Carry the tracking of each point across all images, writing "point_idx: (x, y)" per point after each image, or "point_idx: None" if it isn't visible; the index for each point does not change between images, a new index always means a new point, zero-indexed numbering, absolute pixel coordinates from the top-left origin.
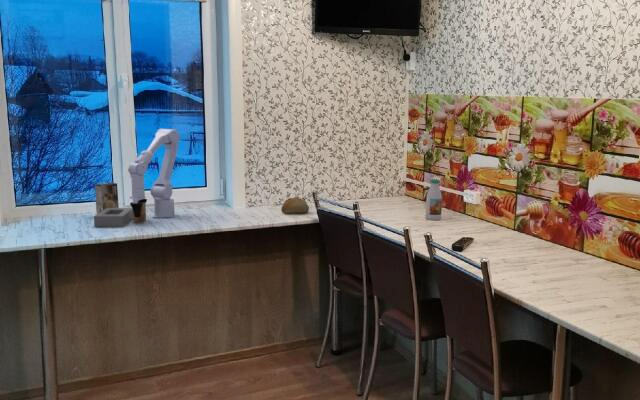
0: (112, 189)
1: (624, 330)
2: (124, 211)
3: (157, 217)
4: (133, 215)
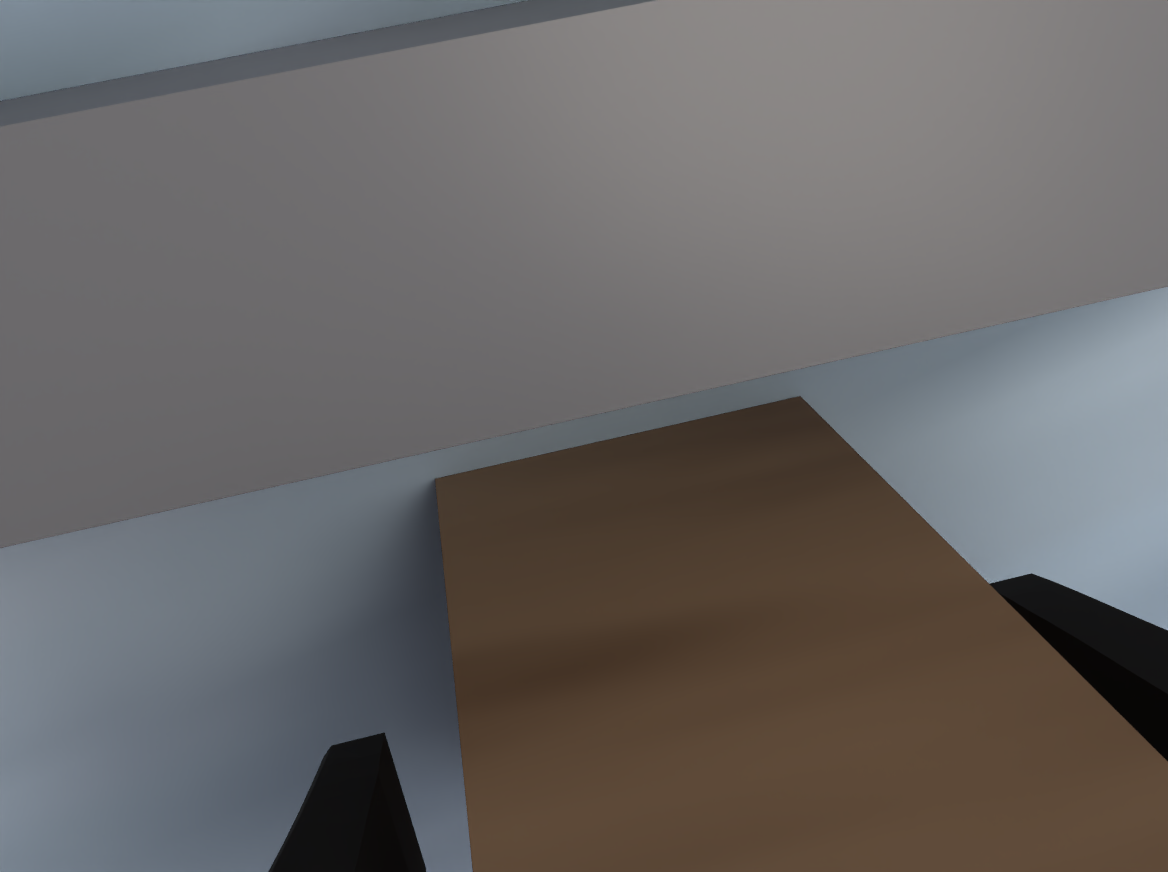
0: None
1: None
2: (661, 147)
3: None
4: (451, 649)
